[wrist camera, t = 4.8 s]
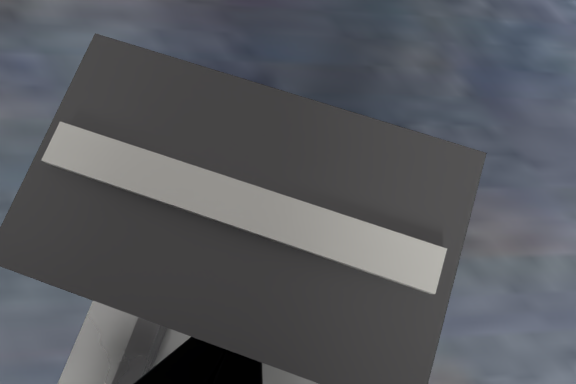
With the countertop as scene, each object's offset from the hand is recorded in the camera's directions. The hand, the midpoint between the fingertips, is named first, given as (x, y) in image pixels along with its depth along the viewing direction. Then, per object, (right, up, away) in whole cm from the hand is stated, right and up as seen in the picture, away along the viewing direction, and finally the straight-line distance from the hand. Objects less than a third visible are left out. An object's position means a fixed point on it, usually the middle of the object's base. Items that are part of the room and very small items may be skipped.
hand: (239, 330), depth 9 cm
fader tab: (+1, 0, +7) cm, 7 cm away
